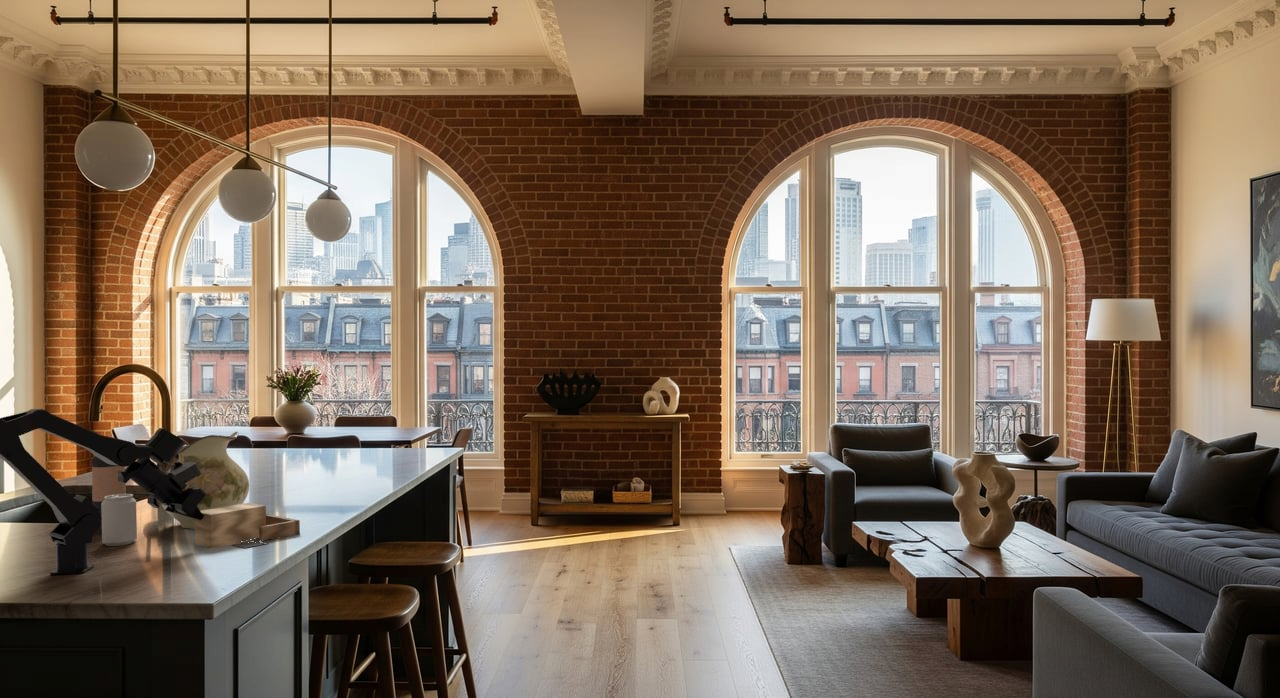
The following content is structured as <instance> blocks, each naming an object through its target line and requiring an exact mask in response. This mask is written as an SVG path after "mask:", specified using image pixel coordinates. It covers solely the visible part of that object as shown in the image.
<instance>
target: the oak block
mask: <svg viewBox="0 0 1280 698" xmlns="http://www.w3.org/2000/svg"><path fill="white" fill-rule="evenodd" d="M266 507H267V506H266V505H264V504H259V503H253V502H246V503H243V504H238V505H232V506H226V507H220V508H214V509H207V510H201V513H202V515H203V516H204V517H203V519H202V520H198V519H195V528H194V543H195V544H194V545H197V546H201V547H205V548H209V549H213V548H214V549H215V548H219V547H224V546H231V545H233V543H235V544H238V543H237V542H240V543H242V542H241V541H245V542H247V541H246V540H250V539H254V538H259V527H261V526H266V514H267V508H266ZM250 541H251V540H250Z"/></svg>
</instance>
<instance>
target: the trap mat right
mask: <svg viewBox="0 0 1280 698" xmlns="http://www.w3.org/2000/svg"><path fill="white" fill-rule="evenodd" d="M257 540H258V539H255V540H252V541H254V542H250V541H251V540H250V541H245V542H240V543H235V544H231V546H233V547H236V546H237V547H236V548H240V547H242V548H241V549H244V548H245V549H249V548H248V547H250V548H253V547H252V546H255V547H258V546H257V545H260V546H263V545H262V544H264V543H267V542H266V541H262V542H263V543H260V542H259V540H258V541H257ZM248 542H249V543H248ZM255 542H256V543H255Z"/></svg>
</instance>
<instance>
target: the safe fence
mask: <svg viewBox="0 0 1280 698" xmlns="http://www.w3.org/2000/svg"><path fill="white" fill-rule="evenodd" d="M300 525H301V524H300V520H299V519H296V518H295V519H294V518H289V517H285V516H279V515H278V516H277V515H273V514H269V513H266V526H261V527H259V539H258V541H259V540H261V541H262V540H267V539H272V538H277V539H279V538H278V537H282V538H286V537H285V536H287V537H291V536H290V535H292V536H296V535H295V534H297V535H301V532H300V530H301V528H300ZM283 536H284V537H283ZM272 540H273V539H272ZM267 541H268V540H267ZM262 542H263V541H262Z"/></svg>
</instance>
